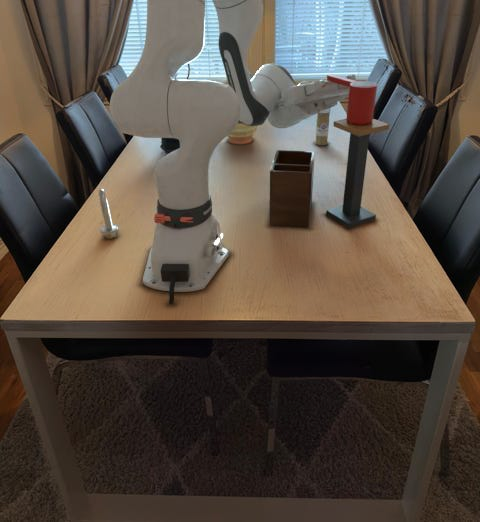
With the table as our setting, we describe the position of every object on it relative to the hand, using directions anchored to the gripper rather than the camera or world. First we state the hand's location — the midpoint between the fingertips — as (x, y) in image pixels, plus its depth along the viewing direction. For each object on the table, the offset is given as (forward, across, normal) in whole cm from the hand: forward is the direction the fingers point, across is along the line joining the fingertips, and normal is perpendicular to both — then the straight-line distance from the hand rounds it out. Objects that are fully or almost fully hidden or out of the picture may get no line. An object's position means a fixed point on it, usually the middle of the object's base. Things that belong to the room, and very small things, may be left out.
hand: (338, 80), depth 112 cm
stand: (-8, 0, +33) cm, 34 cm away
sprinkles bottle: (-50, +28, +9) cm, 59 cm away
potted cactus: (-68, +6, -1) cm, 68 cm away
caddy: (-17, -12, +28) cm, 35 cm away
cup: (0, 0, +9) cm, 9 cm away
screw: (-30, -57, +21) cm, 67 cm away
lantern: (-70, -18, -2) cm, 72 cm away
